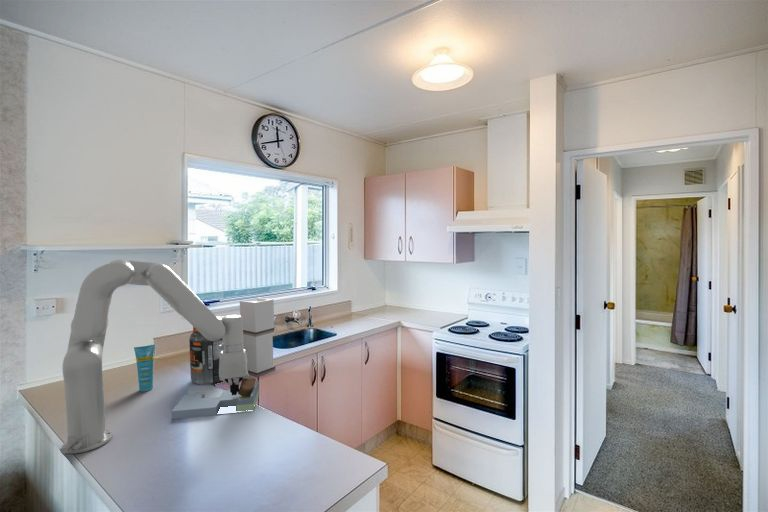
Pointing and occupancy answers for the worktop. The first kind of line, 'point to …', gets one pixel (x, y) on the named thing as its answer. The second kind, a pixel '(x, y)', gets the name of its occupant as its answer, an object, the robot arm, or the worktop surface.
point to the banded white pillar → (258, 335)
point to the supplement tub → (204, 358)
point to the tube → (145, 366)
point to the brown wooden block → (247, 386)
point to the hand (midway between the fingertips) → (234, 393)
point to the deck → (213, 403)
